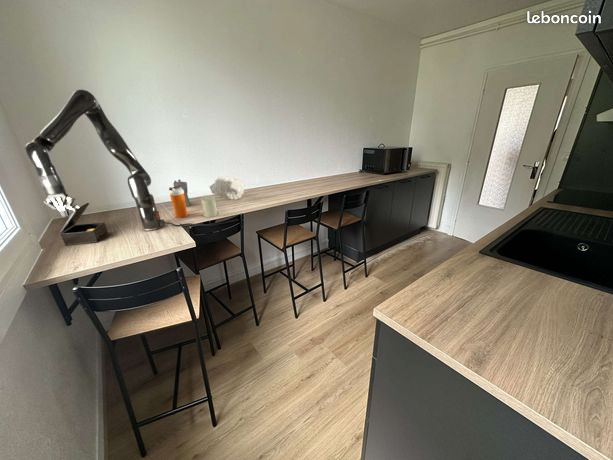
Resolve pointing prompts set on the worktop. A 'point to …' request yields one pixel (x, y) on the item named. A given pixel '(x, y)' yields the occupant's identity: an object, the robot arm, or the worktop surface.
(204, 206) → the can
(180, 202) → the shaker bottle
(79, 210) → the lid
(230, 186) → the crumpled white cloth
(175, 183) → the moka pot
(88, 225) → the dark brown box
